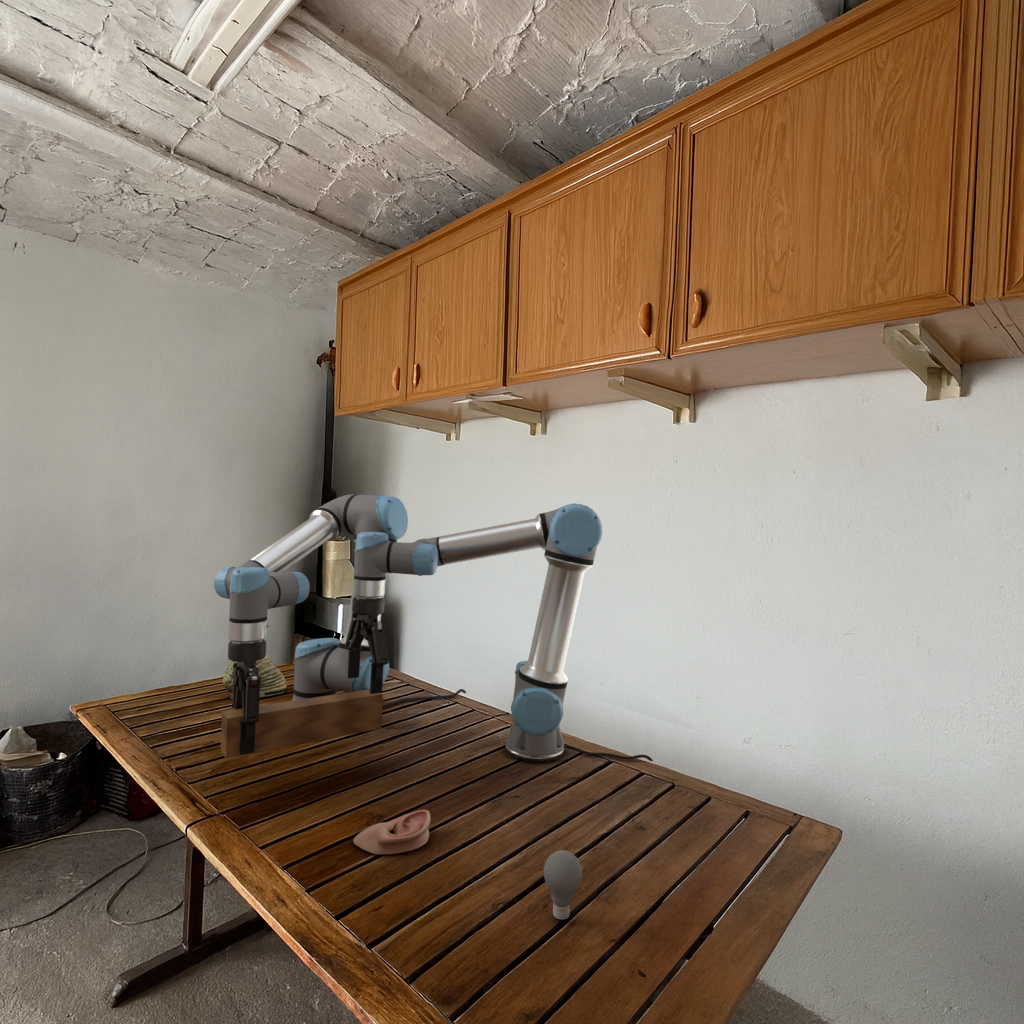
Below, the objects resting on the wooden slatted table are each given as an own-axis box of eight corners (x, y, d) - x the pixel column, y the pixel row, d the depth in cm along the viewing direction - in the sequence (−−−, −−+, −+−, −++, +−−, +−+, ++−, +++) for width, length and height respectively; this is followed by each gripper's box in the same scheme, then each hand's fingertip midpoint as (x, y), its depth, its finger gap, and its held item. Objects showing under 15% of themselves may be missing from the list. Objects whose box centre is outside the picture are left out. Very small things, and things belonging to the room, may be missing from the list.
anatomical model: (346, 827, 114) (372, 798, 125) (345, 849, 114) (372, 818, 125) (416, 839, 111) (436, 808, 122) (415, 861, 111) (436, 828, 123)
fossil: (218, 695, 195) (220, 647, 195) (278, 685, 208) (279, 640, 207) (228, 703, 189) (230, 653, 188) (289, 692, 201) (290, 645, 201)
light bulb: (539, 904, 101) (542, 842, 101) (576, 904, 101) (579, 842, 101) (544, 930, 95) (547, 864, 95) (583, 929, 95) (586, 864, 95)
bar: (225, 758, 131) (227, 718, 131) (220, 750, 135) (221, 711, 135) (381, 728, 152) (382, 694, 152) (372, 722, 156) (374, 688, 156)
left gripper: (277, 647, 130) (273, 759, 131) (254, 630, 145) (251, 731, 145) (239, 651, 126) (235, 767, 126) (219, 633, 140) (215, 737, 141)
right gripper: (406, 604, 143) (401, 697, 144) (363, 588, 163) (358, 670, 164) (375, 606, 139) (370, 702, 139) (334, 589, 159) (330, 673, 159)
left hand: (243, 747), depth 136 cm, fingers closed on bar, 5 cm apart
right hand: (364, 685), depth 152 cm, fingers open, 13 cm apart
